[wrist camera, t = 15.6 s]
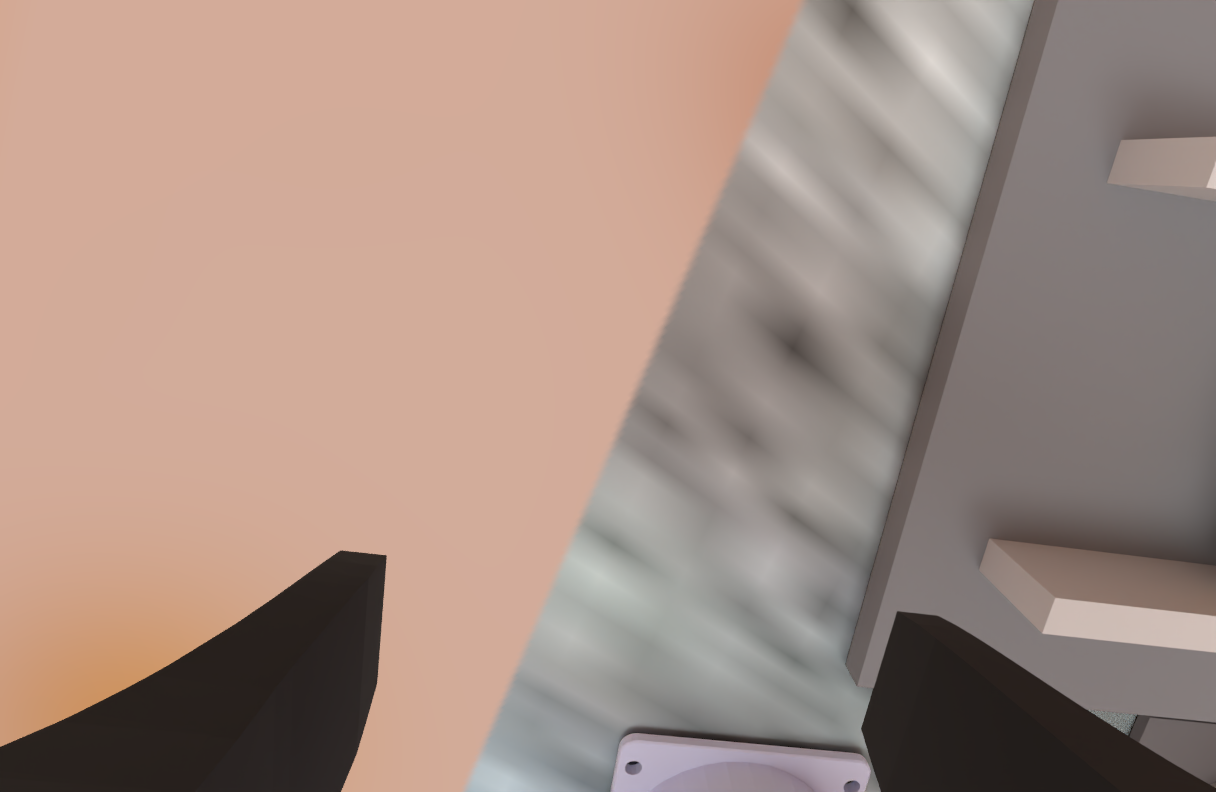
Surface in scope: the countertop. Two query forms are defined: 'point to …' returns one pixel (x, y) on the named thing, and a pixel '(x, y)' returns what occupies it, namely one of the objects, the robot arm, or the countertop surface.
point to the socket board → (1078, 378)
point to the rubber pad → (1180, 743)
